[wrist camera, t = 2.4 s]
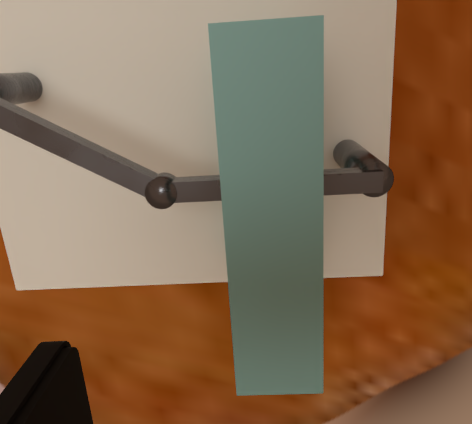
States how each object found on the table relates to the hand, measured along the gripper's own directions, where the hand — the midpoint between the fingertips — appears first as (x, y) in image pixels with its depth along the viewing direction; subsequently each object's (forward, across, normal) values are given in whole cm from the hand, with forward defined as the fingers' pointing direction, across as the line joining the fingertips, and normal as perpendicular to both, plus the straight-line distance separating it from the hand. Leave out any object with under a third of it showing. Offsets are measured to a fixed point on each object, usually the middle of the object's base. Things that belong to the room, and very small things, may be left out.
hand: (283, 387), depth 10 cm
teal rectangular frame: (+23, 0, -1) cm, 23 cm away
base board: (+25, +6, -3) cm, 26 cm away
